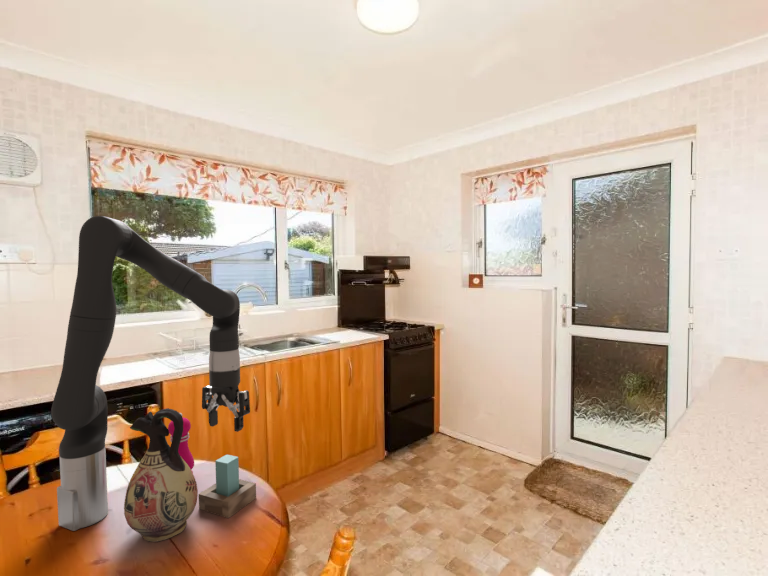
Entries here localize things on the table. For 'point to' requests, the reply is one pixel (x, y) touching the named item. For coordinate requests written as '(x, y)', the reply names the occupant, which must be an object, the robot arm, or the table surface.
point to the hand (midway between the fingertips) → (226, 427)
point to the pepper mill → (183, 442)
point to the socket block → (227, 499)
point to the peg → (227, 475)
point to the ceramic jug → (160, 482)
